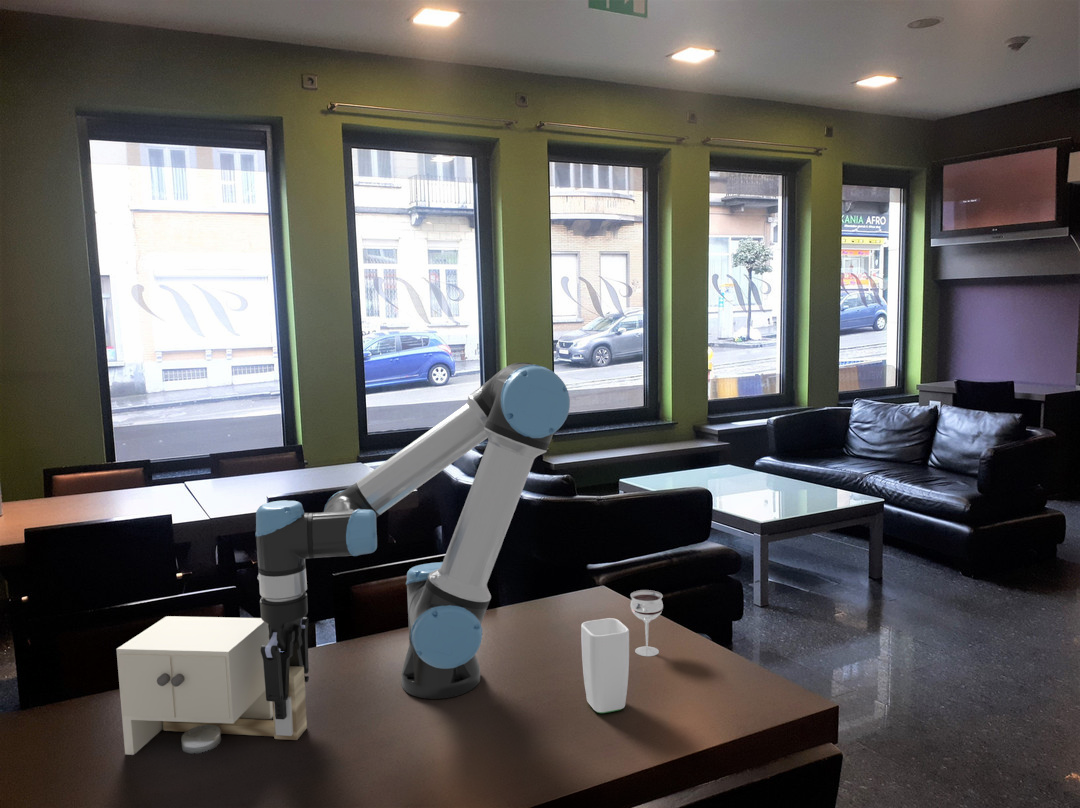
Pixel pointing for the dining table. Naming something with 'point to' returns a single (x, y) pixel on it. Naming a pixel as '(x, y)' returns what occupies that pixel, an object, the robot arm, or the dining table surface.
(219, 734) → the disc
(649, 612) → the wineglass
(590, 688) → the cup
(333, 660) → the dining table surface
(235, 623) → the cabinet
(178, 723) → the l-shaped wooden piece
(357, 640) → the dining table surface
